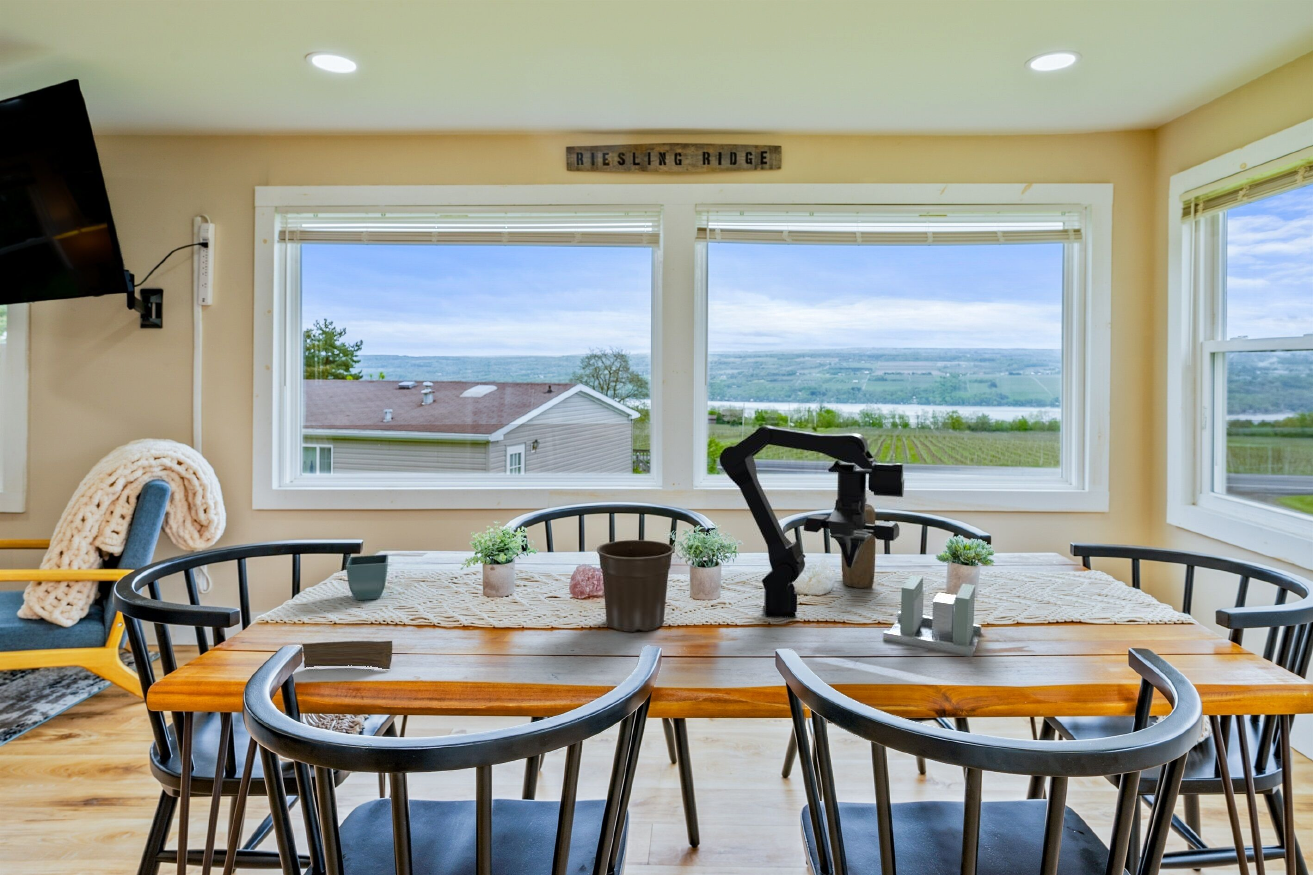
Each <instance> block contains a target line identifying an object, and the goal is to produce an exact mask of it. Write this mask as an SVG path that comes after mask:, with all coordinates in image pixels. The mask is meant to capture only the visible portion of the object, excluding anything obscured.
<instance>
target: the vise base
mask: <svg viewBox="0 0 1313 875" xmlns="http://www.w3.org/2000/svg"><path fill="white" fill-rule="evenodd" d="M900 623H901V611H898V612H897V620H896V621H895V623H894V624H893V625H892V627H891V628H890V630H884V631H883V634H882V642H887V643H893V644H897V645H898V644H899V645H904V646H909V647H913V648H920V649H925V650H931V651H934V652H935V651H936V652H940V653H946V654H952V655H956V656H961V657H965V658H966V657H968V658H973V656H974V653H975V650H976V648H977V645H978V642H979V640H980V637H981V634H982V625H981V624H976V623H974V626H973V636H972V639H971V641H970V644H969V646H967V645H961V644H956V643H953V642H954V641H952V643H950V642H945V641H939V640H934V639H932V616H929V615H923V619H922V622H921V626H920V627H919V629H918V630H917V632H916V634H915V635H914V636H911V635H906V634H900Z"/></svg>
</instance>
